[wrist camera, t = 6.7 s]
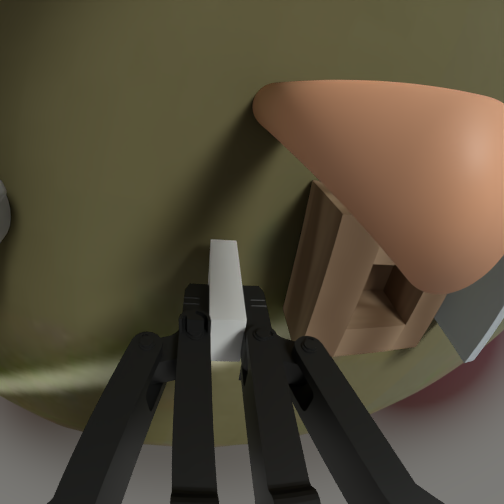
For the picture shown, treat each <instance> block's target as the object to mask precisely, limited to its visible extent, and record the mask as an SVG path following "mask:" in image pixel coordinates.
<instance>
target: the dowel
mask: <svg viewBox="0 0 504 504" xmlns="http://www.w3.org/2000/svg"><path fill="white" fill-rule="evenodd" d="M252 108H253V114H254V116H255V118H256V120H257V121H258V122H259V123H260V124H261V125H262V126H263V127H264V128H265V129H266V130H267V131H268V132H269V133H271V134H272V135H273V136H274V137H275V138H276V139H277V140H278V141H279V142H280V143H281V144H283V145H284V146H285V147H286V148H287V149H288V150H289V151H290V152H291V153H292V154H293V155H294V156H295V157H296V158H297V159H298V160H299V161H300V162H301V163H303V164H304V165H305V166H306V167H307V168H308V169H309V170H310V171H311V172H312V173H313V174H314V175H315V176H316V177H317V178H318V179H319V180H320V181H321V182H322V183H323V184H324V185H325V186H326V187H327V189H328V190H329V191H330V192H331V193H332V194H333V195H334V196H335V197H336V198H337V199H338V200H339V201H340V202H341V203H342V204H343V205H344V206H345V207H346V209H347V210H348V211H349V212H350V213H351V214H352V215H353V216H354V217H355V218H356V219H357V221H358V222H359V223H360V224H361V225H362V226H363V227H364V228H365V230H366V231H367V232H368V233H369V234H370V235H371V236H372V238H373V239H374V240H375V241H376V242H377V243H378V244H379V246H380V247H381V248H382V249H383V250H384V252H385V253H386V254H387V255H388V256H389V258H390V259H391V260H392V261H393V262H394V264H395V265H396V266H397V267H398V268H399V270H400V271H401V272H402V273H403V275H404V276H405V277H406V278H407V280H408V281H409V282H410V283H411V284H412V285H413V286H415V287H416V288H417V289H419V290H421V291H423V292H426V293H430V294H449V293H452V292H456V291H459V290H461V289H464V288H466V287H468V286H469V285H471V284H473V283H475V282H476V281H477V280H479V279H480V278H482V277H483V276H484V275H485V274H486V273H488V272H489V271H490V270H491V269H492V268H493V267H494V266H495V265H496V264H497V262H498V261H499V260H500V259H501V258H502V256H503V255H504V104H503V103H502V102H500V101H498V100H496V99H493V98H491V97H487V96H483V95H478V94H474V93H469V92H464V91H458V90H453V89H447V88H441V87H434V86H427V85H418V84H409V83H399V82H386V81H366V80H313V81H293V82H279V83H271V84H268V85H266V86H264V87H262V88H261V89H260V90H259V91H258V92H257V94H256V95H255V97H254V100H253V105H252Z"/></svg>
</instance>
